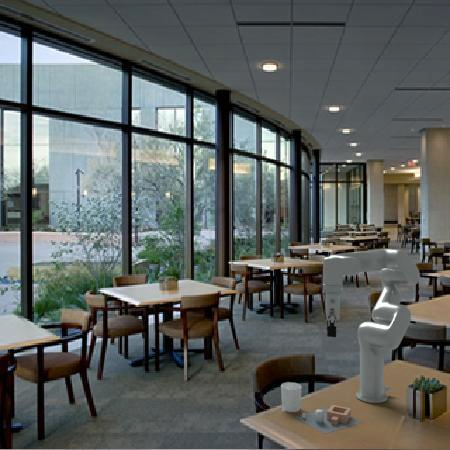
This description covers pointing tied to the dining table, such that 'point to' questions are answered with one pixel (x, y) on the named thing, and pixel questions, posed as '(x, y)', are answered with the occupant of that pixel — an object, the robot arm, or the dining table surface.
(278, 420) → the dining table surface
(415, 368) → the dining table surface
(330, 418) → the square frame with tab
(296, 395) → the white cup
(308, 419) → the board
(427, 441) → the dining table surface
